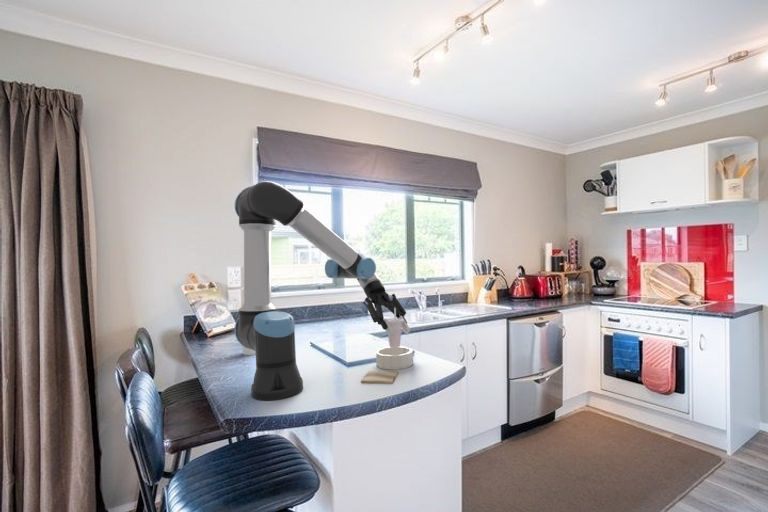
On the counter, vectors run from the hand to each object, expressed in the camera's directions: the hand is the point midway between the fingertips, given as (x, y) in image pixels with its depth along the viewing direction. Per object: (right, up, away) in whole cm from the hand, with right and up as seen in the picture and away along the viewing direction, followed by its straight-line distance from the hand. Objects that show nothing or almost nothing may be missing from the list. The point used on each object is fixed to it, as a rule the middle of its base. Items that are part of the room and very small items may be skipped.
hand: (400, 333), depth 135 cm
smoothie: (-2, -5, +3) cm, 6 cm away
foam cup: (-63, -15, +30) cm, 71 cm away
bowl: (-2, -12, +3) cm, 12 cm away
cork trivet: (-7, -12, -12) cm, 18 cm away
